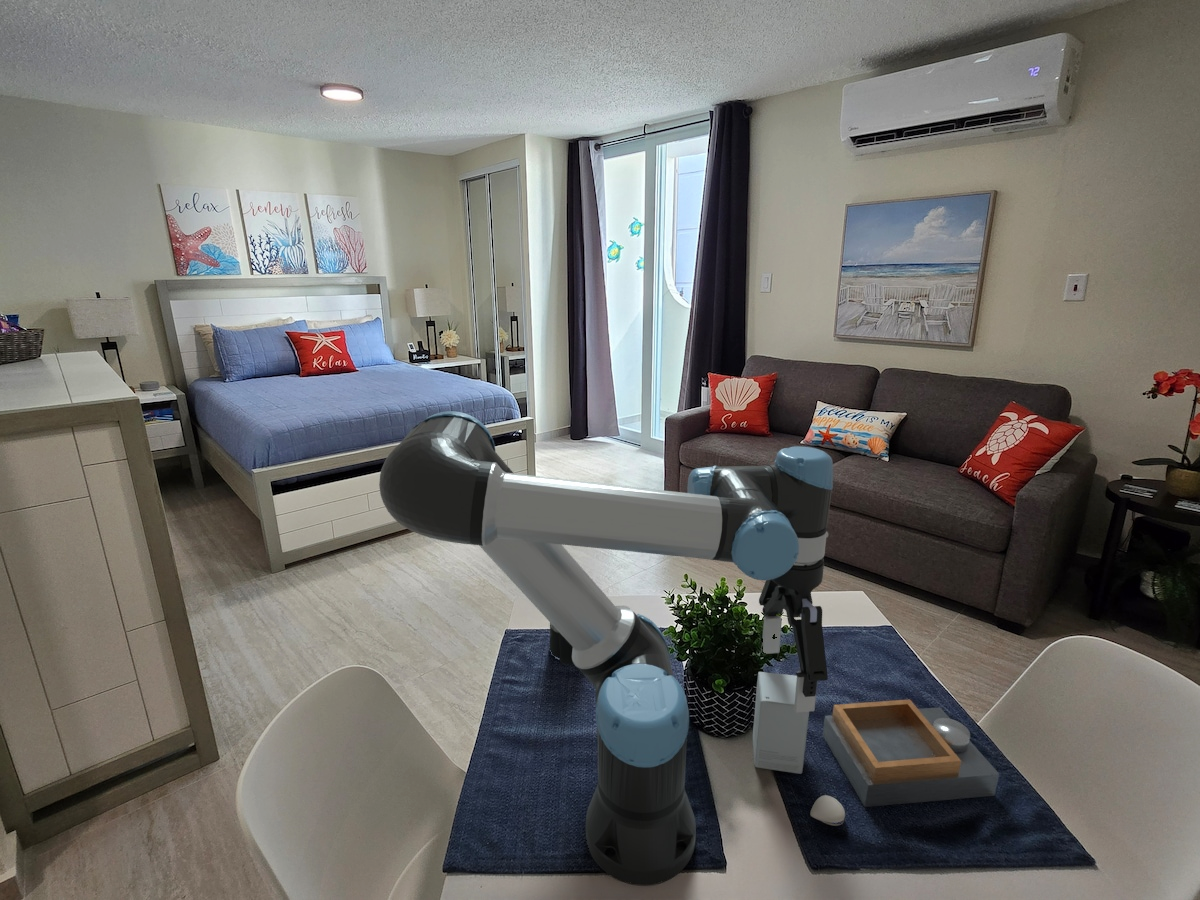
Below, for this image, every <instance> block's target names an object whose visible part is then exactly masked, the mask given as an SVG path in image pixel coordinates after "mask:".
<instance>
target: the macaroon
mask: <svg viewBox="0 0 1200 900" xmlns="http://www.w3.org/2000/svg"><path fill="white" fill-rule="evenodd" d="M810 809H811V810H810V813H809V814H810V817H812V819H813V818H814V819H816V820H818V821H820V822H821V823H823V824H826V825H829V826H835V827H837V826H840V825H843V824H844V822H845V818H846V812H845V811H846V810H845V808H844V806H843V805H842V804H841V802H839V801H838V800H837V799H836V798H835V797H833V796H830V795H826V794H825V795H821V796H820V797H818V798H817V799H816V800H815V802H814V804H813V805H812V808H810ZM838 822H841V824H832V823H838Z"/></svg>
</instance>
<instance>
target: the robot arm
mask: <svg viewBox="0 0 1200 900" xmlns="http://www.w3.org/2000/svg"><path fill="white" fill-rule="evenodd" d="M833 463H834V462H833V459H832V457H831V456H830V455H829V454H828V453H827V452H826V451H825V450H824V451H823V450H821V449H818V448H815V447H811V446H799V445H798V446H790V447H784V448H780V450H779V451H778V452H777V453H776V457H775V460H774V464H767V465H745V466H744V465H737V466H734V465H731V466H730V465H729V466H719V465H713V466H708V467H698V468H694V469H692V470H691V471H690V472H689V473H690V474H689V475H688V479H687V488H686V489H687V492H681V491H680V492H679V491H671V490H661V489H655V488H644V487H636V486H627V485H621V484H619V485H618V484H609V483H601V482H594V481H591V482H590V481H583V480H576V479H575V480H574V479H567V478H566V479H565V478H555V477H549V476H548V477H547V476H537V475H530V474H522V473H514V471H512V469H511V468H510V467H509V466H508V465H507V464H506V462H505V461H504V460H503V459H502V458H501V456H500V455H499V454H498V453H497V452H496V444H495V441H494V439H493V436H492V435H491V431H490V430H489V429H488V428H487V426H485V424H484V423H483V422H481V421H480V420H479V419H477V418H476V417H474V416H472V415H470V414H468V413H465V412H461V411H453V410H451V411H450V410H448V411H441V412H437V413H435V414H432V415H430V416H428V417H426V418H425V419H423V420H422V421H420V422H418V423H416V425H415V426H414V427H413V428H412V429H411V430H409V432H408V433H407V434H406V436H405V437H404V438H403V439H402V440H401V441H400V442H399V443H398V445H397V446H395V447H394V448H393V449H392V450H391V452H390V453H389V454H388V455H387V457H386V458H385V460H384V463H383V465H382V467H381V469H380V475H379V483H378V484H379V485H378V486H379V494H380V497H381V500H382V503H383V505H384V507H385V508H386V511H387V512H388V513H389V515H390V516H391V517H392V518H393V519H394V520H395V521H396V522H397V523H398V524H400V525H401V526H403V527H404V528H405V529H407V530H409V531H410V532H413V533H415V534H418V535H420V536H423V537H427V538H429V539H433V540H438V541H443V542H448V543H455V544H460V545H461V544H462V545H463V544H464V545H471V546H472V545H473V546H479V547H480V548H481V550H482V551H483V552H485V554H486V555H487V556H488V557H489V558H490V559H491V560H492V562H494V563H495V565H497V567H498V568H499V569H500V570H501V571H502V572H503V573H504V574H505V575H506V576H507V578H508V579H509V580H510V581H511V582H512V583H513V584H514V585H515V586H516V587H517V588H518V590H519V591H520V592H521V593H522V594H523V595H524V596H525V597H526V598H527V599H528V600H529V601H530V602H531V603H532V604H533V606H535V608H537V610H538V611H539V612H540V613H541V614H542V615H543V616H544V617H545V618H546V620H547V621H548V622H549V624H550V623H551V624H552V625H553V626H554V627H555V628H556V629H557V630H558V631H559V632H560V634H561V635H562V636H563V637H564V638H565V639H566V640H567V641H568V642H569V643H570V644H571V645H572V646H573V650H572V661H573V664H574V666H575V667H576V668H577V669H578V670H579V671H580V672H581V673H582V674H583V676H585V678H586V679H587V680H588V681H589V682H590V683H591V684H592V686H593V687H594V689H595V722H596V734H597V735H596V736H597V738H596V739H597V785H596V788H595V790H594V792H593V795H592V798H591V800H590V802H589V805H588V808H587V810H586V816H585V841H586V840H587V841H586V845H588V846H587V849H588V848H589V849H588V851H589V853H590V856H591V857H592V859H593V860H594V862H595V863H596V864H597V866H598V867H599V868H600V869H602V870H603V871H604V872H605V873H606V874H608V875H610V877H612V878H614V879H616V880H618V881H621V882H623V883H626V884H630V885H636V886H637V885H638V886H651V885H656V884H661V883H664V882H666V881H669V880H670V879H672V878H675V876H677V875H678V874H680V872H682V871H683V870H684V869H685V867H686V866H687V865H688V864H689V862H690V860H691V859H692V856H693V854H694V851H695V846H696V835H697V834H696V828H697V827H696V824H697V823H696V818H695V815H694V812H693V811H694V810H693V809H692V806H691V803H690V801H689V797H688V795H687V792H686V789H685V788H686V787H685V783H686V766H687V765H686V762H687V743H688V740H687V739H688V732H689V726H690V724H689V723H690V712H689V707H688V701H687V696H686V694H685V693H686V692H685V691H684V689H683V687H682V685H681V684H680V682H679V681H678V680H677V679H676V677H674V673H673V672H674V671H673V668H672V663H671V656H670V655H671V654H670V649H669V646H668V643H667V640H666V638H665V636H664V635H663V633H662V631H661V630H660V628H659V626H658V625H656V623H654V622H653V620H651V619H650V618H648V617H647V616H645V615H642V614H640V613H635V611H633V609H631V607H629V606H627V605H615V604H614V603H613V602H612V600H611V599H610V598H609V597H608V596H607V594H606V593H605V592H603V590H602V589H601V588H600V587H599V586H598V585H597V584H596V582H595V581H594V580H593V578H591V577H590V575H589V574H588V573H587V571H585V570H584V568H582V566H581V565H580V564H579V563H578V561H576V560H575V558H574V557H573V556H572V555H571V554H570V552H568V550H567V549H566V547H564V545H565V546H571V547H573V546H574V547H582V548H583V547H584V548H591V549H594V548H595V549H604V550H613V551H623V552H632V553H633V552H634V553H644V554H653V555H663V556H671V557H680V558H681V557H682V558H683V557H684V558H692V559H702V560H710V561H717V562H724V563H725V562H726V563H733V564H734V565H735V566H737V569H739V570H740V571H741V572H742V573H743V574H744V575H746V576H747V577H750V578H752V579H753V580H757V581H765V582H764V586H763V588H762V591H761V593H760V596H759V598H758V604H759V606H763V607H762V614H763V615H764V616H763V626H762V638H763V652H764V653H766V654H767V655H768V654H769V655H770V654H780V647H781V634H782V633H781V632H782V621H783V618H782V616H781V615H784V610H785V613H786V617H787V618H786V619H787V623H788V626H790V627H792V631H793V635H794V637H793V638H794V643H795V647H796V654H797V658H798V663H799V669H800V670H797V672H795V676H797V681H796V692H795V703H794V710H795V712H808V711H809V712H815V710H816V709H815V708H816V699H817V698H816V697H817V687H818V682H821V681H828V677H829V675H828V667H827V658H826V650H825V641H824V640H825V639H824V632H823V630H824V629H823V608H822V606H821V605H814V604H813V597H812V592H813V590H815V589H816V588H817V587H819V586H820V585H821V584H822V583H823V578H824V567H825V560H824V557H825V554H826V553H825V552H826V542H827V538H829V532H828V521H829V516H830V515H829V513H830V506H831V499H832V498H831V497H832V490H833V489H834V485H833V481H834V480H833V479H834V469H833V467H834V466H833V465H834V464H833ZM796 618H797V619H796ZM798 618H801V619H798ZM774 634H775V637H777V638H775V639H773V638H772V637H773V635H774ZM766 654H765V655H766Z"/></svg>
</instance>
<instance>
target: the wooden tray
mask: <svg viewBox="0 0 1200 900" xmlns="http://www.w3.org/2000/svg"><path fill="white" fill-rule="evenodd" d="M823 720H824V721H823V728H822V735H821V736H822V737H823V739H824V740H825V742H826V743H827V746H828V747H829V749H830V751H831V752H832V755H833V756H834V758H835V759H836V761H837V763H838V765H839V766H840V768H841V770H842V772H843V774H844V775H845V776H846V778H847V779H848V781H849V783H850V784H851V786H852V788H853V790H854V791H855V793H856V795H857V797H858V798H859V800H860V801H861V803H862V805H863V807H864V808H869V807H882V806H890V805H892V806H893V805H901V804H902V805H903V804H904V805H905V804H913V803H914V804H916V803H924V802H925V803H926V802H936V801H937V802H938V801H948V800H949V801H950V800H959V799H972V798H981V797H982V798H983V797H993V796H995V795H996V791H997V786H998V783H999V778H1000V773H999V772H998V770H996V768H995V767H994V766H993V765H992V764H991V763H990V761H988V759H987V758H986V757H985V756H984V755H983V754H982V753H981V751H979V749H978V748H977V747H976V746H975V744H974V743H972V741H971V740H970V739H971V732H970V730H969V729H968V727H966V726H965V725H964V724H963V723H962V722H961V721H960V722H959V721H958V720H955V719H952V718H951V717H949V715H948V714H947V713H946V712H945V711H944V710H943V709H942V707H939V706H938V707H926V708H925V707H924V708H918V707H917V706H916V704H915V703H914V702H913V701H912V700H911V699H909V698H908V699H898V700H897V699H896V700H885V701H884V700H882V701H870V702H856V703H855V702H854V703H841V704H833V708H832V715H829V714H828V715H824V719H823Z"/></svg>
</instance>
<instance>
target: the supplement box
mask: <svg viewBox="0 0 1200 900" xmlns="http://www.w3.org/2000/svg"><path fill="white" fill-rule="evenodd" d="M796 681H797V675H794V674H793V675H792V674H786V673H773V672H766V671H765V672H764V671H758V673H757V681H756V691H755V692H756V693H755V705H754V719H753V730H752V749H753V762H754V763H753V765H754V767H755V768H758V769H765V770H772V771H779V772H787V773H791V774H800V775H801V774H802V773H803V770H804V769H803V768H804V761H805V753H806V744H807V736H808V735H807V734H808V733H807V732H808V726H809V716H810V711H808V712H795V710H794V703H795V692H796Z"/></svg>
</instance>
